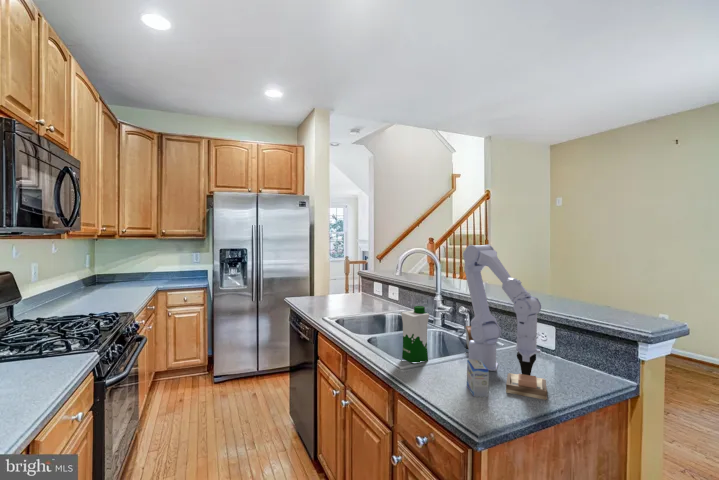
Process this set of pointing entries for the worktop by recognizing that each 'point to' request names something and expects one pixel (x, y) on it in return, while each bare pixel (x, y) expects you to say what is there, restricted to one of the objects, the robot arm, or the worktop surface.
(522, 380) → the peach toy brick
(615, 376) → the worktop surface
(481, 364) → the medicine box
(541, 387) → the dock
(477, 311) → the robot arm
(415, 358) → the milk carton
